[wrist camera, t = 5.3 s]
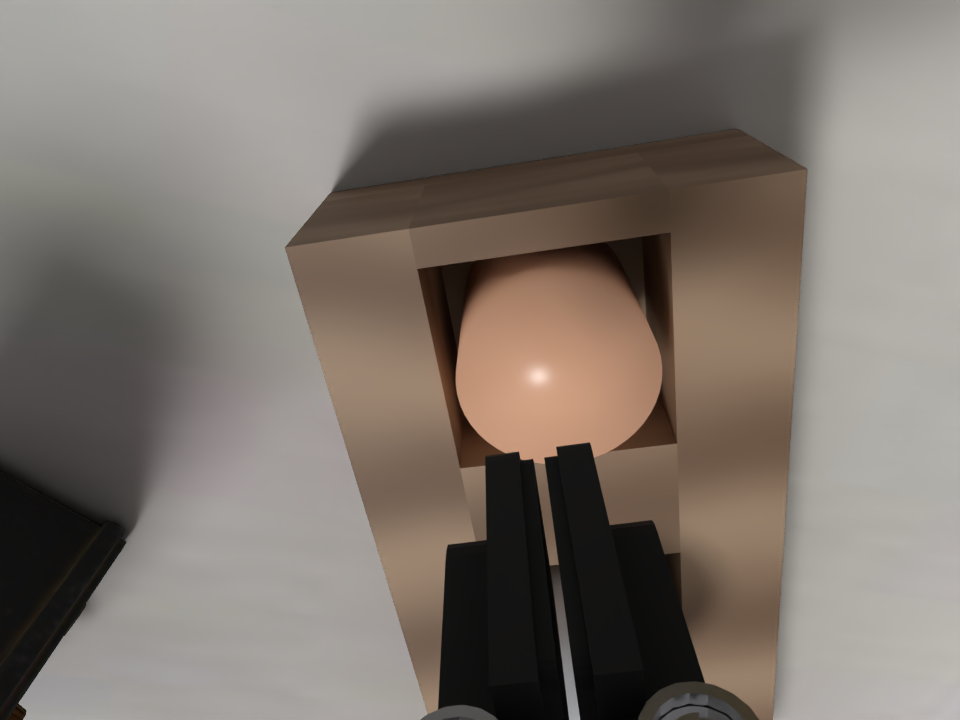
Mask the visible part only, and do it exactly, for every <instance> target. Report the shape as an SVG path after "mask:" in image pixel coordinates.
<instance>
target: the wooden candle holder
mask: <svg viewBox="0 0 960 720" xmlns="http://www.w3.org/2000/svg"><path fill="white" fill-rule="evenodd" d="M806 182H807V169H806V168H805V167H803V166H801V165H799V164H798V163H796V162H794V161H792V160H791V159H789V158H787V157H786V156H784V155H782V154H780V153H779V152H777V151H775V150H773V149H772V148H770V147H768V146H766V145H765V144H763V143H761V142H760V141H758V140H756V139H754V138H753V137H751V136H749V135H747V134H746V133H744V132H742V131H741V130H739V129H734V130H728V131H721V132H715V133H709V134H702V135H696V136H690V137H683V138H677V139H670V140H664V141H658V142H651V143H645V144H639V145H632V146H626V147H619V148H613V149H607V150H600V151H594V152H588V153H581V154H575V155H568V156H562V157H556V158H549V159H543V160H537V161H530V162H524V163H517V164H511V165H505V166H498V167H492V168H486V169H479V170H473V171H466V172H460V173H454V174H447V175H441V176H435V177H428V178H422V179H415V180H409V181H403V182H396V183H390V184H384V185H377V186H371V187H364V188H358V189H352V190H345V191H339V192H333V193H330V194H329V195H328V196H327V198H326V199H325V200H324V201H323V202H322V204H321V205H320V206H319V207H318V208H317V210H316V211H315V212H314V213H313V214H312V216H311V217H310V218H309V219H308V220H307V222H306V223H305V224H304V225H303V226H302V228H301V229H300V230H299V231H298V232H297V234H296V235H295V236H294V237H293V238H292V240H291V241H290V242H289V243H288V244H287V246H286V247H285V249H286V253H287V256H288V259H289V262H290V266H291V269H292V272H293V275H294V279H295V282H296V285H297V288H298V292H299V295H300V298H301V301H302V305H303V308H304V311H305V315H306V318H307V321H308V324H309V328H310V331H311V334H312V337H313V341H314V344H315V347H316V350H317V354H318V357H319V360H320V363H321V367H322V370H323V373H324V377H325V380H326V383H327V386H328V390H329V393H330V396H331V399H332V403H333V406H334V409H335V412H336V416H337V419H338V422H339V425H340V429H341V432H342V435H343V439H344V442H345V445H346V448H347V452H348V455H349V458H350V461H351V465H352V468H353V471H354V474H355V478H356V481H357V484H358V487H359V491H360V494H361V497H362V501H363V504H364V507H365V510H366V514H367V517H368V520H369V523H370V527H371V530H372V533H373V536H374V540H375V543H376V546H377V549H378V553H379V556H380V559H381V563H382V566H383V569H384V572H385V576H386V579H387V582H388V585H389V589H390V592H391V595H392V598H393V602H394V605H395V608H396V611H397V615H398V618H399V621H400V625H401V628H402V631H403V634H404V638H405V641H406V644H407V647H408V651H409V654H410V657H411V660H412V664H413V667H414V670H415V673H416V677H417V680H418V683H419V687H420V690H421V693H422V696H423V700H424V703H425V706H426V709H427V713H428V714H429V713H432V712H434V711H436V710H438V698H439V679H440V659H441V640H442V620H443V601H444V581H445V561H446V550H447V546H448V545H449V544H458V543H466V542H474V541H482V540H487V536H486V479H485V457H486V456H489V455H496V454H504V452H502V451H500V450H499V449H497V448H495V447H494V446H492V445H491V444H490V443H488V442H487V441H486V440H485V439H484V438H482V437H481V436H480V435H479V434H478V433H477V432H476V430H475V429H474V428H473V427H472V426H471V424H470V423H469V421H468V419H467V418H466V416H465V414H464V412H463V410H462V408H461V406H460V402H459V399H458V395H457V389H456V366H457V357H458V348H459V339H460V330H461V322H462V313H463V304H464V295H465V288H466V282H467V279H468V276H469V273H470V270H471V268H472V266H473V264H474V262H475V261H476V260H483V259H490V258H497V257H503V256H510V255H517V254H524V253H531V252H538V251H545V250H552V249H559V248H566V247H573V246H580V245H587V244H594V243H601V242H606V243H607V244H608V245H609V246H610V247H611V248H612V250H613V251H614V252H615V254H616V255H617V257H618V258H619V260H620V262H621V264H622V266H623V269H624V271H625V273H626V275H627V277H628V280H629V282H630V284H631V286H632V289H633V291H634V293H635V295H636V298H637V300H638V302H639V304H640V306H641V309H642V311H643V313H644V315H645V318H646V320H647V322H648V324H649V327H650V329H651V331H652V333H653V335H654V338H655V340H656V342H657V344H658V348H659V351H660V355H661V361H662V382H661V388H660V392H659V395H658V398H657V401H656V404H655V406H654V408H653V410H652V411H651V413H650V415H649V416H648V418H647V419H646V421H645V422H644V424H643V425H642V426H641V427H640V428H639V429H638V430H637V431H636V432H635V433H634V434H633V435H632V436H631V437H630V438H629V439H627V440H626V441H625V442H623V443H622V444H620V445H619V446H618V447H616V448H614V449H612V450H610V451H609V452H607V453H605V454H602V455H600V456H597V457H595V458H594V460H595V464H596V469H597V473H598V477H599V481H600V486H601V490H602V494H603V498H604V503H605V507H606V511H607V515H608V520H609V524H610V525H615V524H623V523H632V522H640V521H648V520H652V521H653V522H654V524H655V526H656V529H657V532H658V535H659V538H660V541H661V545H662V548H663V551H664V554H665V557H666V560H667V564H668V567H669V570H670V573H671V576H672V579H673V583H674V586H675V589H676V592H677V595H678V598H679V602H680V605H681V608H682V611H683V614H684V617H685V621H686V624H687V627H688V630H689V633H690V636H691V640H692V643H693V646H694V649H695V652H696V655H697V659H698V662H699V665H700V668H701V671H702V674H703V678H704V681H705V683H707V684H713V685H716V686H718V687H720V688H722V689H725V690H727V691H729V692H731V693H733V694H734V695H736V696H737V697H738V698H739V699H741V700H742V701H743V702H744V703H746V704H747V705H748V706H749V707H750V708H751V709H752V711H753V712H754V713H755V715H756V716H757V717H758V719H759V720H773V704H774V689H775V673H776V657H777V641H778V625H779V610H780V594H781V578H782V562H783V546H784V530H785V515H786V499H787V483H788V467H789V451H790V435H791V420H792V404H793V388H794V372H795V356H796V340H797V325H798V309H799V293H800V277H801V261H802V246H803V230H804V214H805V198H806ZM521 460H522V459H521ZM534 466H535V472H536V479H537V485H538V492H539V498H540V505H541V511H542V518H543V524H544V531H545V537H546V544H547V550H548V557H549V563H550V566H551V565H559V563H558V556H557V548H556V541H555V533H554V526H553V519H552V511H551V504H550V497H549V489H548V482H547V475H546V467H545V464H541V463H534Z"/></svg>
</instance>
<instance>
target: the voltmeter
mask: <svg viewBox="0 0 960 720" xmlns="http://www.w3.org/2000/svg"><path fill="white" fill-rule="evenodd" d="M124 531H125V530H123V529H121V528H120V527H118V526H117V525H115V524H113V523H112V522H110V521H106V522H105V523H104V525H103V526H102V527H100V526H98V525H96V524H95V523H93V522H91V521H89V520H87V519H86V518H84V517H82V516H80V515H78V514H76V513H75V512H73V511H71V510H69V509H67V508H66V507H64V506H62V505H60V504H58V503H57V502H55V501H53V500H51V499H49V498H48V497H46V496H44V495H42V494H40V493H38V492H37V491H35V490H33V489H31V488H29V487H28V486H26V485H24V484H22V483H20V482H19V481H17V480H15V479H13V478H11V477H9V476H8V475H6V474H4V473H2V472H0V720H23V718H24V717H25V715H26V710H25V709H24V708H23V707H22V706H20V705H19V704H18V703H19V701H20V700H21V698H22V697H23V695H24V694H25V692H26V691H27V689H28V688H29V686H30V685H31V684H32V682H33V681H34V679H35V678H36V676H37V675H38V673H39V672H40V670H41V669H42V667H43V666H44V664H45V663H46V661H47V660H48V658H49V657H50V655H51V654H52V652H53V651H54V649H55V648H56V646H57V645H58V644H59V642H60V641H61V639H62V638H63V636H65V635H66V633H67V632H68V631H69V629H70V628H71V627H72V625H73V624H74V623H75V621H76V620H77V619H78V617H79V616H80V614H81V613H82V611H83V610H84V608H85V606H86V602H87V601H88V599H89V598H90V596H91V595H92V593H93V592H94V590H95V589H96V587H97V586H98V584H99V583H100V581H101V580H102V578H103V577H104V575H105V574H106V572H107V571H108V569H109V568H110V566H111V565H112V564H113V562H114V561H115V559H116V558H117V556H118V555H119V553H120V552H121V550H122V549H123V547H124V545H125V544H126V541H124V540H123V539H122V538H121V536H122V534H123V533H124Z"/></svg>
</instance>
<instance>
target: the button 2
mask: <svg viewBox="0 0 960 720" xmlns="http://www.w3.org/2000/svg"><path fill="white" fill-rule="evenodd" d="M661 382H662V361H661V355H660V351H659V348H658V344H657V342H656V340H655V338H654V335H653V333H652V331H651V329H650V327H649V324H648V322H647V320H646V318H645V315H644V313H643V311H642V309H641V306H640V304H639V302H638V300H637V298H636V295H635V293H634V291H633V289H632V286H631V284H630V282H629V280H628V277H627V275H626V273H625V271H624V269H623V266H622V264H621V262H620V260H619V258H618V257H617V255H616V254H615V252H614V251H613V250H612V248H611V247H610V246H609V245H608V244H607V243H606V242H601V243H594V244H587V245H580V246H573V247H566V248H559V249H552V250H545V251H538V252H531V253H524V254H517V255H510V256H503V257H497V258H490V259H483V260H476V261H475V262H474V264H473V266H472V268H471V270H470V273H469V276H468V279H467V282H466V288H465V295H464V304H463V313H462V322H461V330H460V339H459V348H458V357H457V366H456V389H457V395H458V399H459V402H460V406H461V408H462V410H463V412H464V414H465V416H466V418H467V419H468V421H469V423H470V424H471V426H472V427H473V428H474V429H475V430H476V432H477V433H478V434H479V435H480V436H481V437H482V438H484V439H485V440H486V441H487V442H488V443H490V444H491V445H492V446H494V447H495V448H497V449H499V450H500V451H502V452H504V453H512V452H519V454H520V459H522V460H529V459H533V460H534V463H541V464H545V460H544V457H552V456H557V450H556V447H558V446H566V445H573V444H581V443H589V442H590V444H591V447H592V452H593V456H594V458H595V457H597V456H600V455H602V454H605V453H607V452H609V451H610V450H612V449H614V448H616V447H618V446H619V445H620V444H622V443H623V442H625V441H626V440H627V439H629V438H630V437H631V436H632V435H633V434H634V433H635V432H636V431H637V430H638V429H639V428H640V427H641V426H642V425H643V424H644V422H645V421H646V419H647V418H648V416H649V415H650V413H651V411H652V410H653V408H654V406H655V404H656V401H657V398H658V395H659V392H660V388H661Z"/></svg>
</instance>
